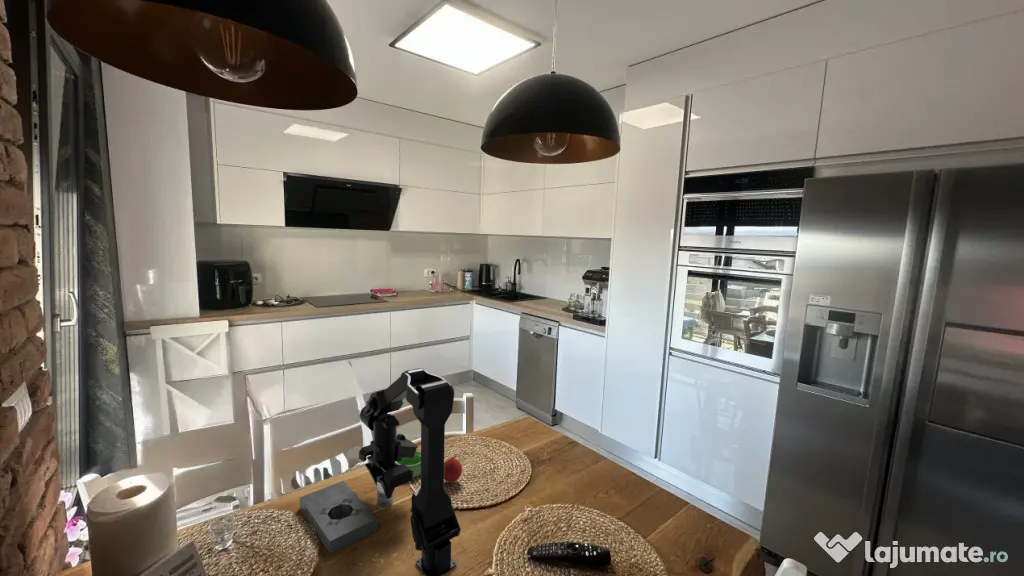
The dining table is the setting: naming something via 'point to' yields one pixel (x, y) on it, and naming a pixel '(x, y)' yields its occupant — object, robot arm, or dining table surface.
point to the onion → (452, 470)
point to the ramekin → (412, 463)
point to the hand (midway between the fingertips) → (384, 494)
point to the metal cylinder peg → (382, 493)
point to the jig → (333, 504)
